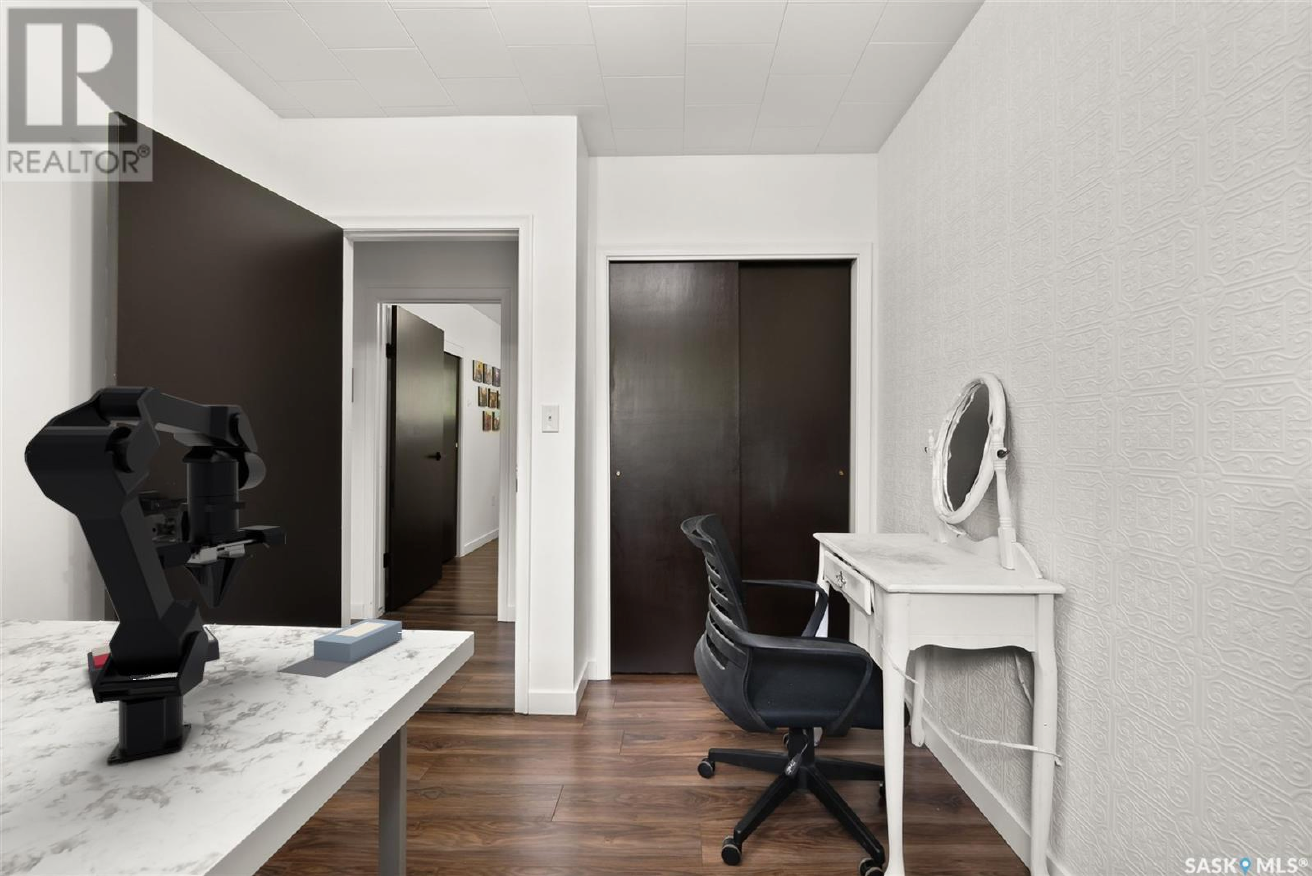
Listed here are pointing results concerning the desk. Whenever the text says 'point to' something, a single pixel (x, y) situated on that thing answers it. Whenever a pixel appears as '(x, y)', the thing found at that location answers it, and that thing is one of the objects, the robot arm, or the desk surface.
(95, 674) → the calculator
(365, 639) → the card box
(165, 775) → the desk surface
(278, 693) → the desk surface
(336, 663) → the mat
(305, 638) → the desk surface
